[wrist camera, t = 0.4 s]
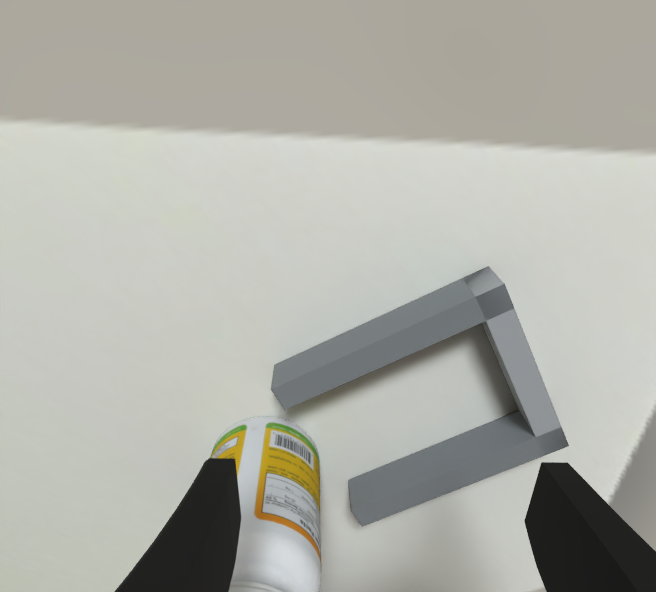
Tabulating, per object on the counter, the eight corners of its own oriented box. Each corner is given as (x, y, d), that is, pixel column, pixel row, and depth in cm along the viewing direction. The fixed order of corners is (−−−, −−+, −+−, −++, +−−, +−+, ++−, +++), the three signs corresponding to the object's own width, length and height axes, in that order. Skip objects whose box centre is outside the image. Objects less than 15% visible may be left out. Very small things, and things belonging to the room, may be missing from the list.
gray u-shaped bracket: (358, 495, 26) (361, 526, 25) (274, 365, 23) (270, 389, 21) (550, 418, 25) (568, 445, 23) (488, 266, 22) (504, 283, 20)
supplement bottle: (222, 501, 26) (174, 715, 18) (203, 417, 24) (139, 612, 15) (324, 493, 26) (328, 704, 17) (314, 408, 24) (314, 599, 15)
